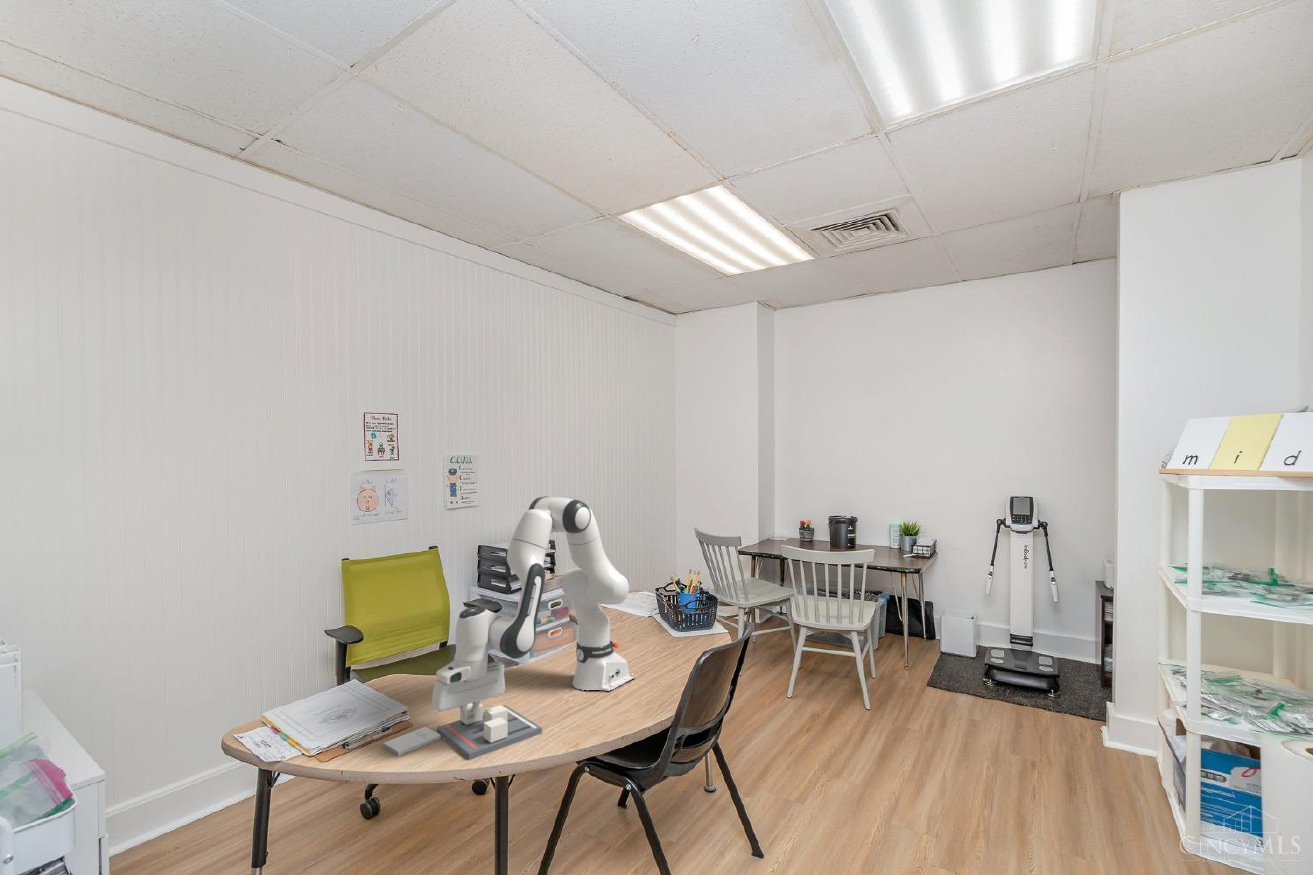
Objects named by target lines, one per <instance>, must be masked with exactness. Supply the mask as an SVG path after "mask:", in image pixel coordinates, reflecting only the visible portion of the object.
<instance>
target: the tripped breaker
mask: <svg viewBox="0 0 1313 875" xmlns="http://www.w3.org/2000/svg"><path fill="white" fill-rule="evenodd" d="M503 706H504V705H502V704H500V705H495V706H492V707H489V708H487V709H485V710H484V712H485V722H487V721H490V720H493V719H496V718H499V717H501V718H502V719H504V720H505V721H507V717H508V709H506V708H504V707H503Z"/></svg>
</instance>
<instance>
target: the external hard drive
mask: <svg viewBox="0 0 1313 875" xmlns="http://www.w3.org/2000/svg"><path fill="white" fill-rule="evenodd" d="M440 738H441V739H442V737H441V735H440V734H438V733H437V731H434V730H432V729H430V728H428V727H427V726H424V727H421V728H419V729H416V730H413V731H411V732H408V733H406V734H402V735H400V736H397V737H395V738H392V739H389V740H387V741H385V742H382V747H383V748H385V749H386V750H388V751H389V752H391V753H393V754H395V755H397V756H398V757H400V756H402V755H404V753H405V754H407V753H409V752H412V751H414V750H416V749H419V748H421V747H424V746H426V745H429V744H431V743H433V742H436V741H438V740H440ZM437 739H438V740H437ZM423 745H424V746H423ZM406 752H407V753H406ZM399 755H400V756H399Z"/></svg>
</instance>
